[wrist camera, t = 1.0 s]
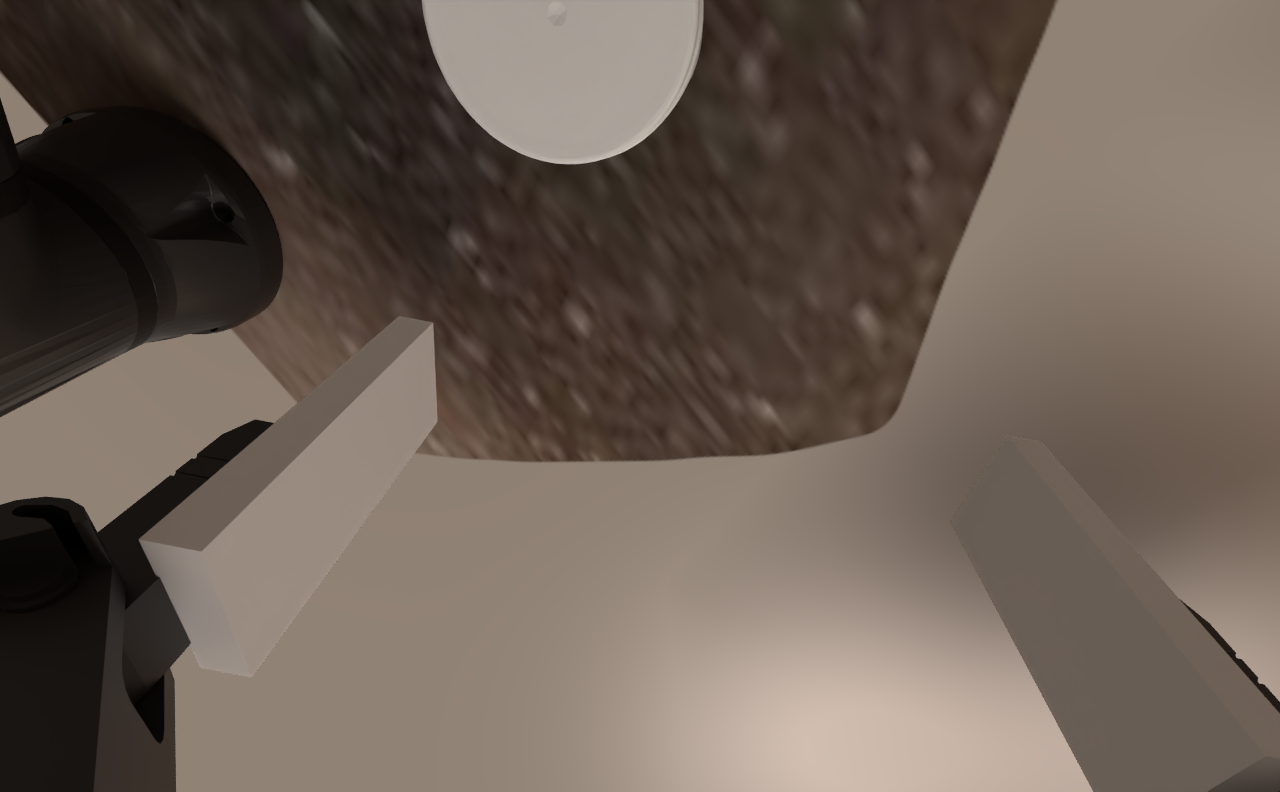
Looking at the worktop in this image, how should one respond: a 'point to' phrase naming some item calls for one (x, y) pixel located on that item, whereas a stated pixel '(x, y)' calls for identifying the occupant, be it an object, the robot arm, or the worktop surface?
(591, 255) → the worktop surface
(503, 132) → the supplement tub
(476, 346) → the worktop surface
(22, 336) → the robot arm
